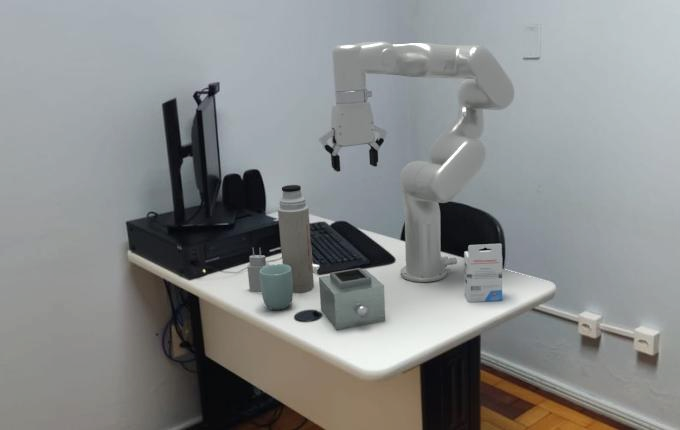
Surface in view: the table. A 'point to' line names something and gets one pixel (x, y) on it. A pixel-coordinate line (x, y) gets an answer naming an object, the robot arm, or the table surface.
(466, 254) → the ink box
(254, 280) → the power adapter
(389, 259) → the table surface
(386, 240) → the table surface
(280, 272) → the cup
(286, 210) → the thermos bottle
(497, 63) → the robot arm
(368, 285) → the box
